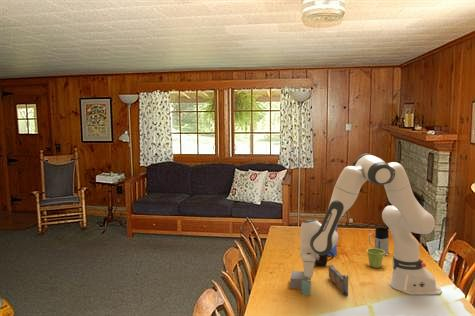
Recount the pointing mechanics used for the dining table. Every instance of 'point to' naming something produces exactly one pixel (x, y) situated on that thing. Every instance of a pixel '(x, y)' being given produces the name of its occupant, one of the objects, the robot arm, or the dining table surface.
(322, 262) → the coffee mug
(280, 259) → the dining table surface
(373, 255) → the plant pot
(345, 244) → the dining table surface
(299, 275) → the rubber block
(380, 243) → the lidded pitcher
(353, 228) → the dining table surface
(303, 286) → the grey-green rectangular block
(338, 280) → the gate
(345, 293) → the hinge post
